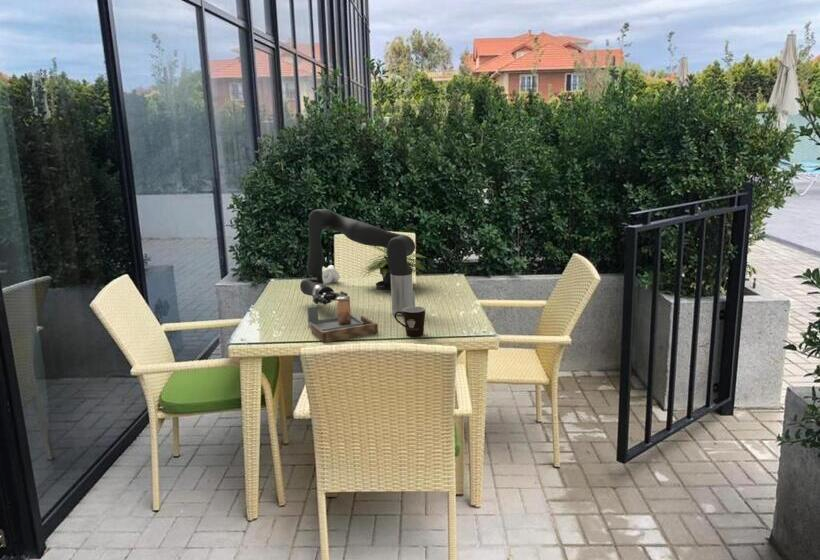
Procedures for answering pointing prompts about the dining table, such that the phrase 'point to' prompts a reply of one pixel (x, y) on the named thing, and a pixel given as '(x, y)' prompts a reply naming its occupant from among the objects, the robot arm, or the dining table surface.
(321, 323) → the sliding tray
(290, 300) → the dining table surface
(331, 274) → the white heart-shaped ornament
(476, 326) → the dining table surface
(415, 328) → the coffee mug
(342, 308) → the tea tin
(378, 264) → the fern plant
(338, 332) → the wooden base box
